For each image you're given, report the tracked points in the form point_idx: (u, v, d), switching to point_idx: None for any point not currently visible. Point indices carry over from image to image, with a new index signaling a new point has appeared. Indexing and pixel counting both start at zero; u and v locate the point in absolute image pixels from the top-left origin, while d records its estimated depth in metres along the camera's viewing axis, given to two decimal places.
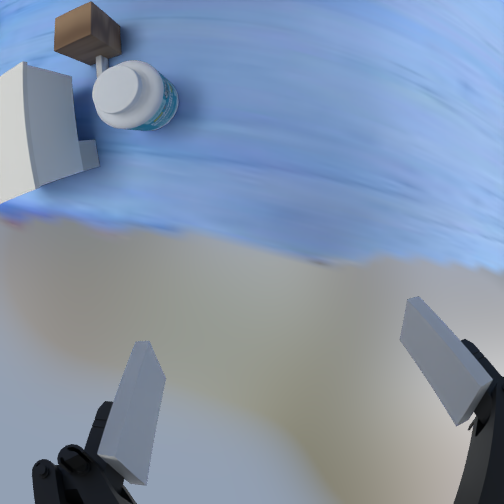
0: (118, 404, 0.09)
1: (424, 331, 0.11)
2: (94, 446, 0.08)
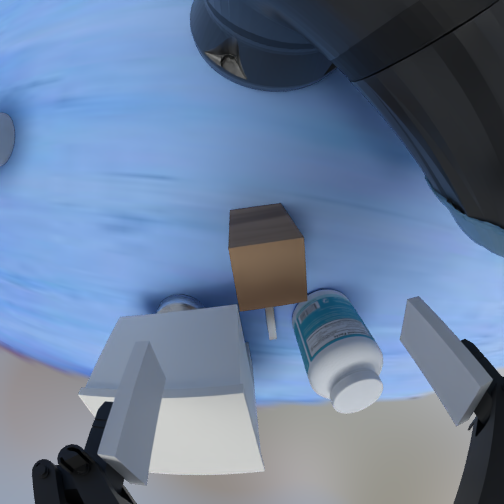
0: (118, 404, 0.09)
1: (424, 331, 0.11)
2: (94, 446, 0.08)
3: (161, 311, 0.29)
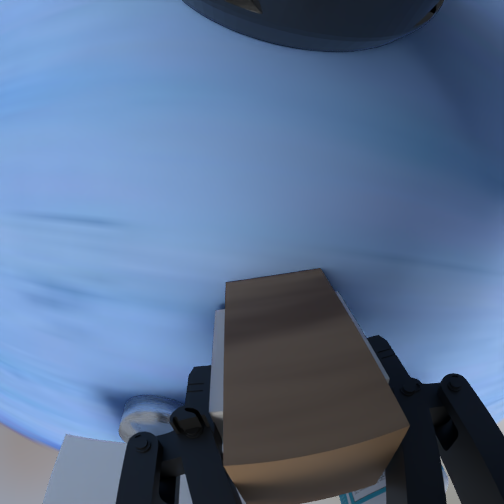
0: (218, 364, 0.11)
1: None
2: None
3: (125, 424, 0.16)
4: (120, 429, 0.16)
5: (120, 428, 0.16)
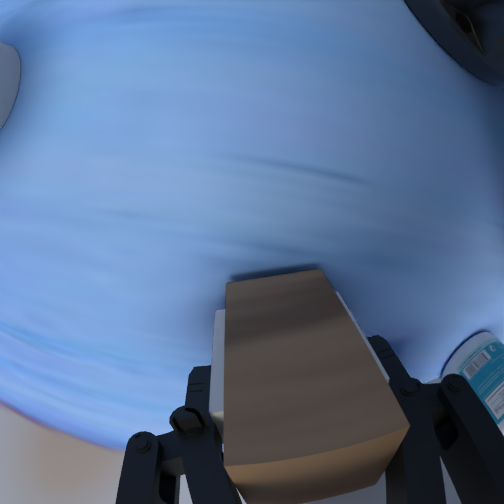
0: (218, 364, 0.11)
1: None
2: None
3: None
4: None
5: None
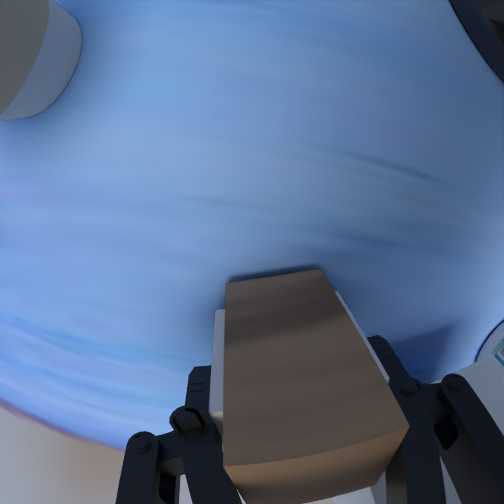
0: (218, 364, 0.11)
1: None
2: None
3: None
4: None
5: None
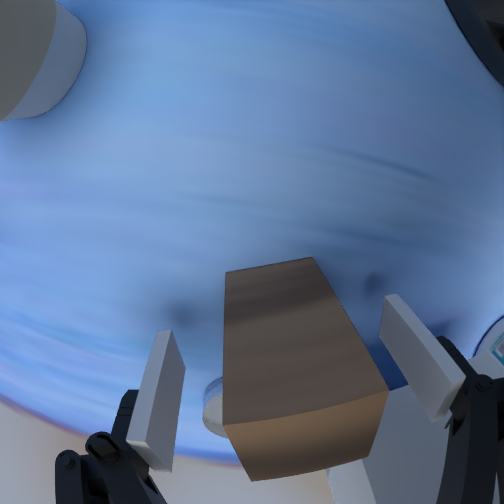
0: (145, 390, 0.10)
1: (399, 327, 0.12)
2: (120, 434, 0.08)
3: (213, 406, 0.18)
4: (205, 413, 0.18)
5: (206, 411, 0.18)
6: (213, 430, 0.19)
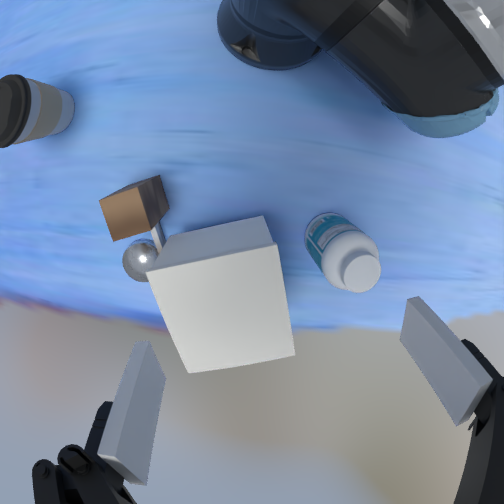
0: (118, 404, 0.09)
1: (424, 331, 0.11)
2: (94, 446, 0.08)
3: (125, 252, 0.39)
4: (123, 258, 0.39)
5: (123, 257, 0.39)
6: (129, 273, 0.40)
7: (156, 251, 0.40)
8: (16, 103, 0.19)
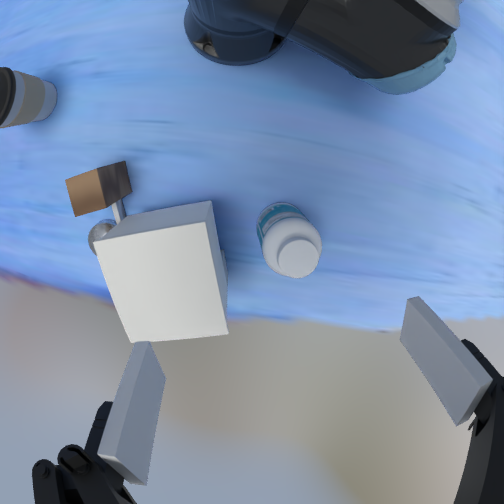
0: (118, 404, 0.09)
1: (424, 331, 0.11)
2: (94, 446, 0.08)
3: (91, 230, 0.40)
4: (89, 236, 0.41)
5: (89, 235, 0.41)
6: (93, 250, 0.42)
7: None
8: (3, 92, 0.20)
